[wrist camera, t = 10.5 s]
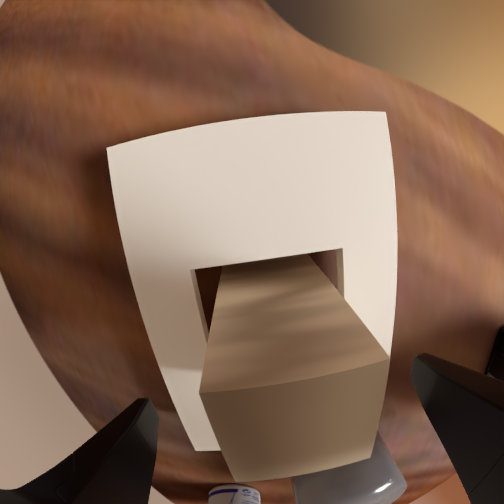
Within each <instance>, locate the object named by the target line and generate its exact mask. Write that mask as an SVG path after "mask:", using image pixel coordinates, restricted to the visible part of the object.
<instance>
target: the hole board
mask: <svg viewBox="0 0 504 504" xmlns="http://www.w3.org/2000/svg"><path fill="white" fill-rule="evenodd" d="M107 155H108V163H109V171H110V178H111V185H112V191H113V197H114V203H115V209H116V214H117V219H118V224H119V229H120V234H121V239H122V243H123V248H124V252H125V256H126V260H127V265H128V269H129V273H130V276H131V280H132V284H133V288H134V291H135V295H136V298H137V302H138V305H139V309H140V312H141V315H142V318H143V322H144V325H145V328H146V331H147V334H148V337H149V340H150V343H151V346H152V349H153V352H154V354H155V357H156V360H157V363H158V365H159V368H160V371H161V373H162V376H163V379H164V381H165V384H166V386H167V389H168V391H169V394H170V396H171V398H172V401H173V403H174V405H175V408H176V410H177V412H178V415H179V417H180V419H181V421H182V424H183V426H184V428H185V430H186V432H187V434H188V436H189V438H190V441H191V443H192V445H193V447H194V449H195V451H217V450H221V449H220V447H219V444H218V442H217V439H216V437H215V434H214V432H213V429H212V427H211V424H210V422H209V419H208V417H207V414H206V411H205V409H204V406H203V403H202V401H201V398H200V395H199V389H200V383H201V377H202V371H203V366H204V360H205V354H206V349H207V343H208V338H209V332H208V328H207V323H206V319H205V315H204V310H203V306H202V301H201V297H200V292H199V288H198V283H197V278H196V273H195V269H200V268H208V267H215V266H222V265H229V264H236V263H243V262H250V261H257V260H264V259H271V258H278V257H285V256H292V255H299V254H306V253H312V252H319V251H326V250H333V249H336V259H337V281H338V291H339V293H340V294H341V295H342V296H343V298H344V299H345V300H346V301H347V303H348V304H349V305H350V306H351V308H352V309H353V310H354V312H355V313H356V314H357V315H358V317H359V318H360V319H361V320H362V322H363V323H364V324H365V326H366V327H367V328H368V329H369V331H370V332H371V333H372V335H373V336H374V337H375V339H376V340H377V341H378V342H379V344H380V345H381V346H382V348H383V349H384V350H385V352H386V353H387V354H388V356H389V357H390V353H391V345H392V336H393V327H394V316H395V303H396V285H397V212H396V194H395V181H394V170H393V160H392V152H391V144H390V137H389V130H388V124H387V117H386V112H367V111H339V112H310V113H294V114H281V115H271V116H261V117H252V118H244V119H237V120H230V121H223V122H217V123H211V124H205V125H200V126H194V127H189V128H184V129H179V130H174V131H170V132H165V133H161V134H156V135H152V136H148V137H144V138H140V139H136V140H133V141H129V142H125V143H122V144H118V145H115V146H111V147H108V148H107Z"/></svg>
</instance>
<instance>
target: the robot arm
mask: <svg viewBox="0 0 504 504" xmlns="http://www.w3.org/2000/svg"><path fill="white" fill-rule="evenodd" d="M411 380H412V382H413V385H414V387H415V389H416V392H417V394H418V396H419V399H420V401H421V403H422V406H423V408H424V410H425V412H426V414H427V416H428V418H429V420H430V422H431V424H432V425H433V427H434V429H435V431H436V433H437V435H438V437H439V438H440V440H441V442H442V444H443V446H444V448H445V450H446V452H447V454H448V456H449V458H450V460H451V462H452V464H453V466H454V468H455V470H456V472H457V474H458V476H459V478H460V480H461V482H462V484H463V487H464V489H465V491H466V493H467V495H468V498H469V500H470V502H471V504H504V327H502V328H501V329H500V330H499V332H498V335H497V339H496V342H495V345H494V349H493V352H492V355H491V358H490V361H489V364H488V367H487V370H486V372H485V375H484V374H481V373H479V372H476V371H473V370H470V369H468V368H465V367H462V366H460V365H457V364H454V363H452V362H449V361H446V360H444V359H441V358H438V357H436V356H433V355H430V354H428V353H422V354H419V355H416V356H415V357H414V360H413V365H412V369H411ZM158 426H159V416H158V413H157V411H156V409H155V407H154V405H153V403H152V401H151V400H150V399H149V398H138V399H137V400H135V401H134V402H133V403H132V404H131V405H130V406H128V407H127V408H126V409H125V410H124V411H123V412H121V413H120V414H119V415H118V416H117V417H115V418H114V419H113V420H112V421H111V422H110V423H108V424H107V425H106V426H105V427H104V428H102V429H101V430H100V431H99V432H98V433H96V434H95V435H94V436H93V437H92V438H90V439H89V440H88V441H87V442H85V443H84V444H83V445H82V446H81V447H79V448H78V449H77V450H76V451H74V452H73V454H71V455H69V456H68V457H67V458H65V459H64V460H63V461H61V462H60V463H59V464H57V465H56V466H55V467H53V468H52V469H50V470H49V471H47V472H46V473H44V474H42V475H41V476H39V477H37V478H36V479H34V480H32V481H31V482H29V483H27V484H25V485H24V486H22V487H20V488H17V489H12V490H2V489H0V504H148V499H149V494H150V488H151V483H152V477H153V472H154V466H155V461H156V453H157V439H158Z"/></svg>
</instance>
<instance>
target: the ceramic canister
mask: <svg viewBox="0 0 504 504" xmlns="http://www.w3.org/2000/svg"><path fill="white" fill-rule="evenodd" d="M290 478H291V483H292V487H293V491H294V495H295V500H296V504H391V503H392V502H394V501H395V500H396V499H398V498H399V497H400V496H401V495H402V494H403V493H404V491H405V490H406V488H407V483H406V481H405V479H404V478H403V476H402V474H401V472H400V470H399V468H398V466H397V465H396V463H395V461H394V459H393V457H392V456H391V454H390V452H389V450H388V448H387V446H386V445H385V443H384V441H383V439H382V437H381V436H380V434H379V432H378V430H377V434H376V438H375V442H374V446H373V450H372V454H371V457H370V458H368V459H364V460H361V461H358V462H354V463H351V464H347V465H343V466H339V467H335V468H331V469H327V470H323V471H318V472H313V473H308V474H303V475H297V476H291V477H290Z"/></svg>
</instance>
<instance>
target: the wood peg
mask: <svg viewBox="0 0 504 504" xmlns="http://www.w3.org/2000/svg"><path fill="white" fill-rule="evenodd" d="M390 359H391V358H390V357H389V356H388V354H387V353H386V352H385V350H384V349H383V348H382V346H381V345H380V344H379V342H378V341H377V340H376V339H375V337H374V336H373V335H372V333H371V332H370V331H369V329H368V328H367V327H366V326H365V324H364V323H363V322H362V320H361V319H360V318H359V317H358V315H357V314H356V313H355V312H354V310H353V309H352V308H351V306H350V305H349V304H348V303H347V301H346V300H345V299H344V298H343V296H342V295H341V294H340V293H339V291H338V290H337V289H336V288H335V287H334V285H333V284H332V283H331V282H330V280H329V279H328V278H327V277H326V275H325V274H324V273H323V272H322V271H321V269H320V268H319V267H318V266H317V265H316V263H315V262H314V261H313V260H312V258H311V257H310V256H309V255H308V254H307V253H306V254H299V255H292V256H285V257H278V258H271V259H264V260H257V261H250V262H243V263H236V264H229V265H223V266H222V271H221V275H220V280H219V286H218V291H217V296H216V301H215V306H214V311H213V316H212V322H211V327H210V332H209V338H208V343H207V349H206V354H205V360H204V366H203V371H202V377H201V383H200V389H199V395H200V398H201V401H202V403H203V406H204V409H205V411H206V414H207V417H208V419H209V422H210V424H211V427H212V429H213V432H214V434H215V437H216V439H217V442H218V444H219V447H220V449H221V451H222V454H223V456H224V458H225V461H226V463H227V465H228V467H229V470H230V472H231V474H232V476H233V478H234V481H235V482H250V481H260V480H269V479H277V478H284V477H291V476H297V475H303V474H308V473H313V472H318V471H323V470H327V469H331V468H335V467H339V466H343V465H347V464H351V463H354V462H358V461H361V460H364V459H368V458H370V457H371V454H372V450H373V446H374V442H375V438H376V434H377V430H378V426H379V421H380V417H381V412H382V407H383V402H384V397H385V391H386V385H387V379H388V373H389V366H390Z"/></svg>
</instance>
